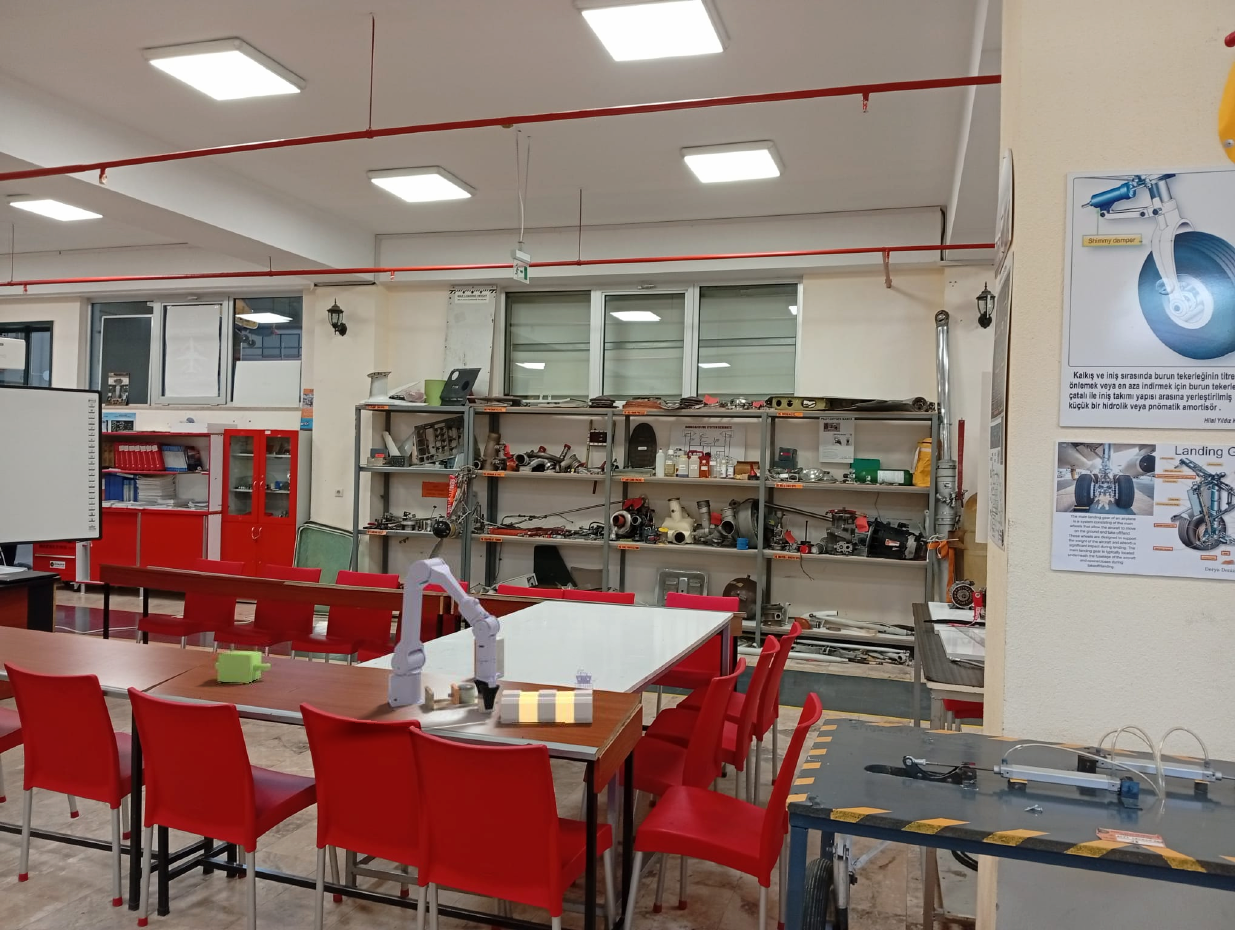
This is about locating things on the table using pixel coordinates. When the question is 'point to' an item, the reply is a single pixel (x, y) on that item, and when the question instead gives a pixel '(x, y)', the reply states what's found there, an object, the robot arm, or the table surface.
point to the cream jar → (481, 705)
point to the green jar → (466, 693)
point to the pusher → (454, 694)
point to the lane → (445, 702)
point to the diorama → (549, 705)
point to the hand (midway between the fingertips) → (486, 706)
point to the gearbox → (240, 666)
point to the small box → (498, 656)
